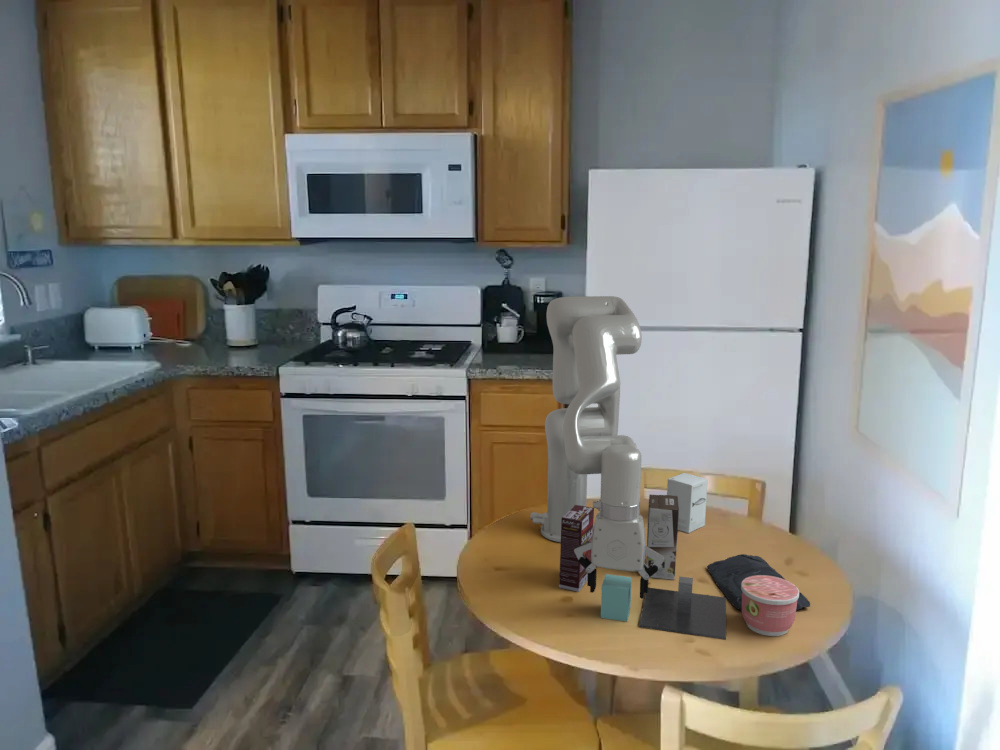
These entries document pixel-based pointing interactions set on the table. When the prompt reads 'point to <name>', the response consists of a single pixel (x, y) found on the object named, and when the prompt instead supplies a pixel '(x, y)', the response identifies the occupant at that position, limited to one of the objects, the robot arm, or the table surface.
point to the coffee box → (663, 533)
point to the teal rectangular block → (616, 597)
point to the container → (769, 604)
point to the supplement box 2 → (689, 500)
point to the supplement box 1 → (574, 534)
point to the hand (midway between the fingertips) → (617, 592)
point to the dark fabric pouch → (743, 576)
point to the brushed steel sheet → (684, 611)
